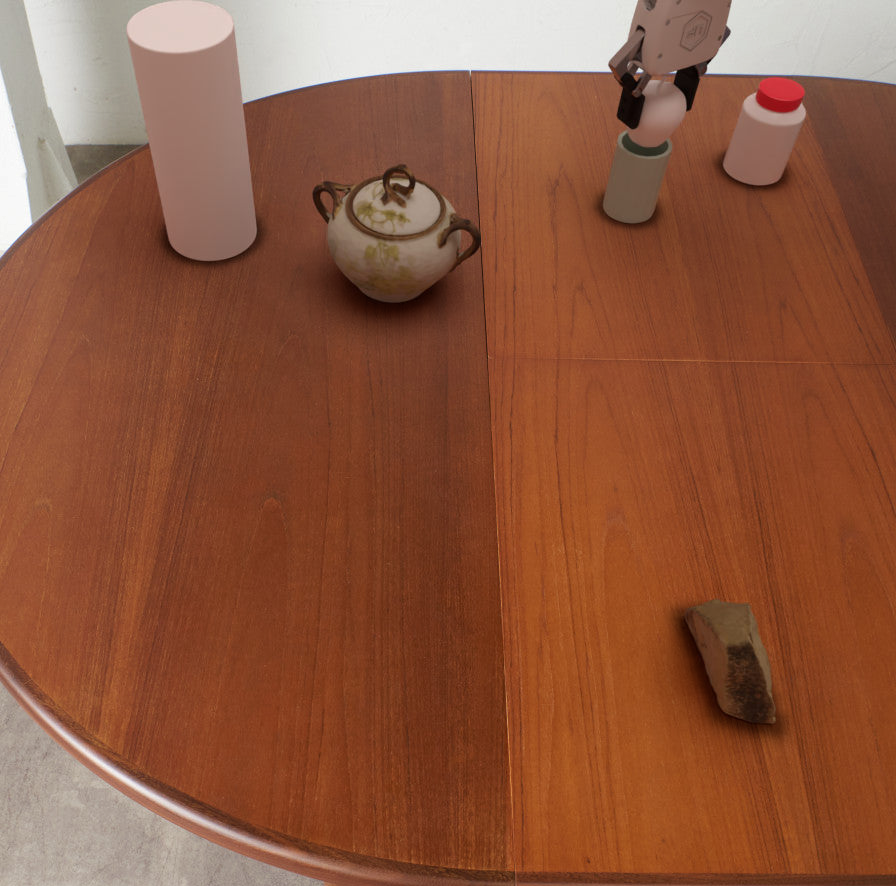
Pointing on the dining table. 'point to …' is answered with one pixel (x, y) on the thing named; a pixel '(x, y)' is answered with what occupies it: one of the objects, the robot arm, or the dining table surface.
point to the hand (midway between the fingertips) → (653, 113)
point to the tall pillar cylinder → (195, 125)
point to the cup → (635, 180)
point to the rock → (734, 658)
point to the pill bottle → (766, 132)
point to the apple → (659, 113)
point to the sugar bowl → (394, 234)
